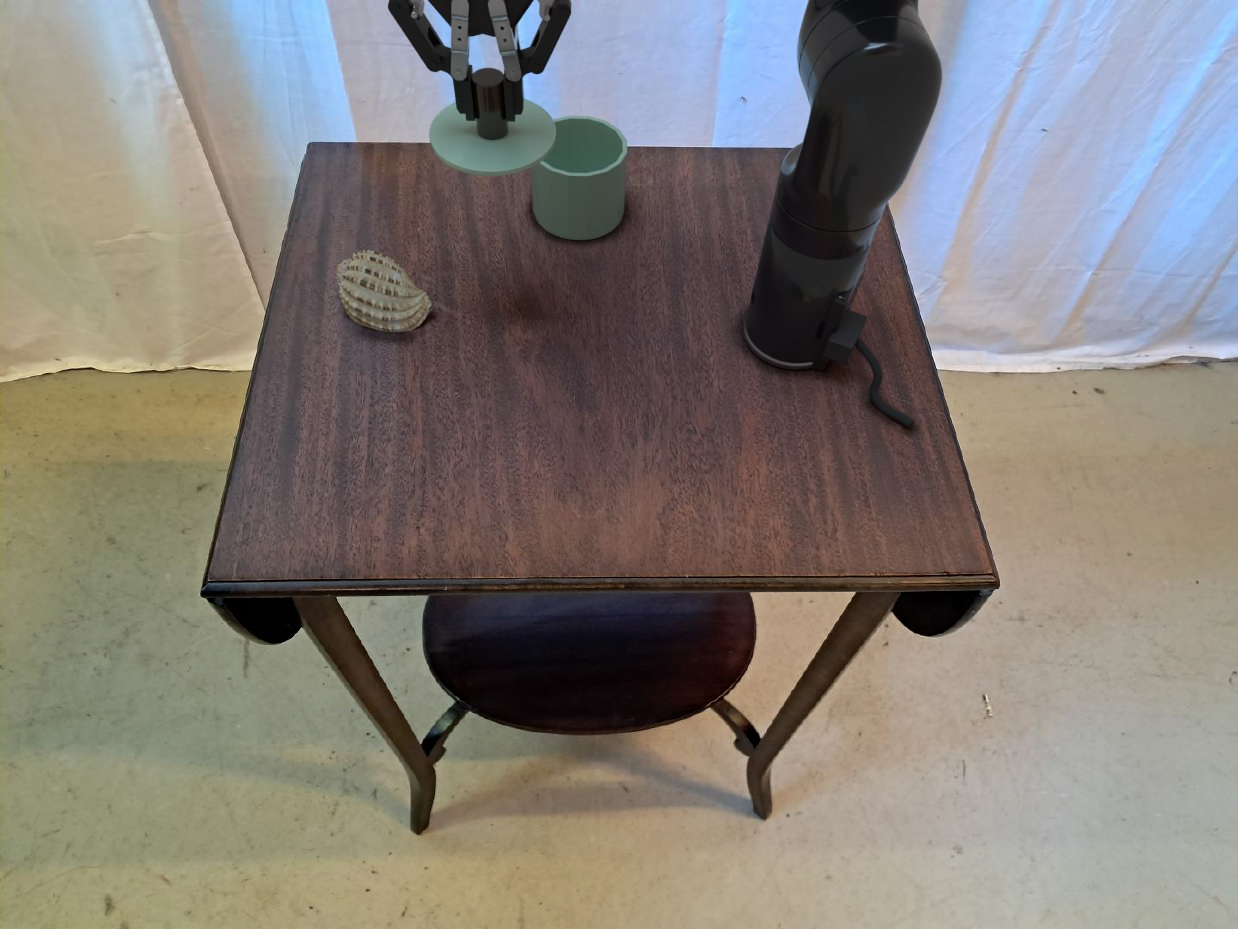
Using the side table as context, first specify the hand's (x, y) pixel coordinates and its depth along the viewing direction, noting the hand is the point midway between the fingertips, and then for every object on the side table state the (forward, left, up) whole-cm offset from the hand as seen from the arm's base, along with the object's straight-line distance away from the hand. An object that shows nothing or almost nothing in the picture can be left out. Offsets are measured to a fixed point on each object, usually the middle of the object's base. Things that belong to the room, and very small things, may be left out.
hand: (491, 114), depth 71 cm
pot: (+1, -17, -22) cm, 28 cm away
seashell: (+11, +6, -22) cm, 25 cm away
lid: (0, 0, -2) cm, 2 cm away
